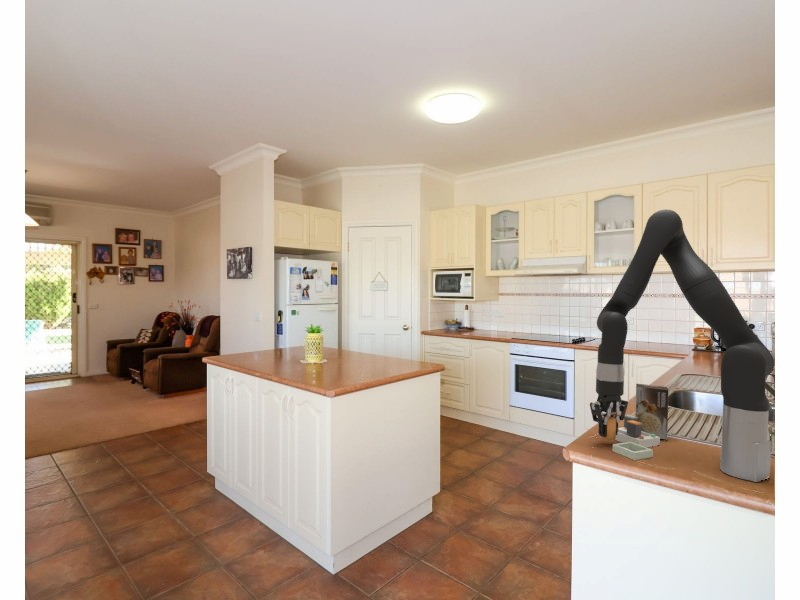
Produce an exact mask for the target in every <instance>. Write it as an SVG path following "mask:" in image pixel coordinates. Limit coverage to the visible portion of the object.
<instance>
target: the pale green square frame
mask: <svg viewBox="0 0 800 600" xmlns="http://www.w3.org/2000/svg"><path fill="white" fill-rule="evenodd" d="M613 452H614V453H616V454H618V455H620V456H623V457H626V458H629V459H631V460H632V461H633V460H634V461H638V460H644V459H649V458H654V457H653V456H654V455H653V454H654V449H652V448H650V447H647V448H646V447H644V446H641V445H638V444H635V443H632V442H625V443H622V442H619V443H613V444H612V453H613Z"/></svg>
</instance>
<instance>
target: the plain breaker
mask: <svg viewBox="0 0 800 600" xmlns="http://www.w3.org/2000/svg"><path fill="white" fill-rule="evenodd" d="M630 420H634V421H637V422H638V417H636V416H635V415H632V414H625V417H624V420H623V427H624V428H627V421H630Z"/></svg>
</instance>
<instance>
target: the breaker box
mask: <svg viewBox="0 0 800 600" xmlns="http://www.w3.org/2000/svg"><path fill="white" fill-rule="evenodd" d="M615 441H617V442H619V443H625V442H632V443H635V444H638V445H641V446H644V447H646V448H651V447H652V446H653V447H658V446H657V445H659V446H661V440H660V437H658V436H655V434H649V433H646V432H643V431H641V435H640V436H637V437H635V436H632V435H629V434H627V428H624V426H623V427H618V433H617V435H616V439H615Z"/></svg>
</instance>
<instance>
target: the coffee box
mask: <svg viewBox="0 0 800 600" xmlns="http://www.w3.org/2000/svg"><path fill="white" fill-rule="evenodd" d="M634 411H635V412H634V413H635V414H634V416H636V417H638V422H640V423H642V424H641V431H643V432H646V433H649V434H655V436H658V437H660V439H666V440H667V441H668V427H669V425H668V424H669V422H668V421H669V388H668V386H663V385H653V384H644V383H643V384H642V383H636V386H635V410H634ZM666 440H665V441H666Z"/></svg>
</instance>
